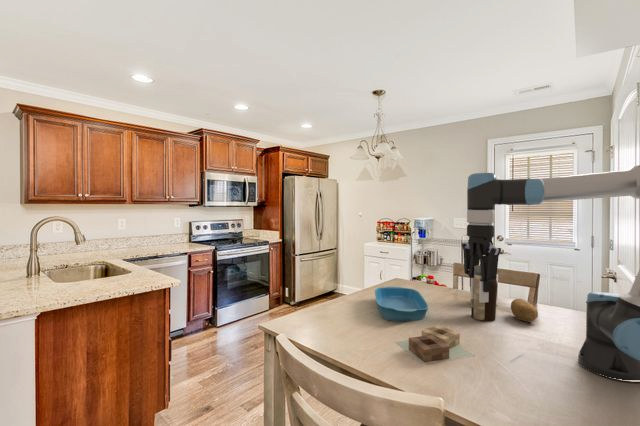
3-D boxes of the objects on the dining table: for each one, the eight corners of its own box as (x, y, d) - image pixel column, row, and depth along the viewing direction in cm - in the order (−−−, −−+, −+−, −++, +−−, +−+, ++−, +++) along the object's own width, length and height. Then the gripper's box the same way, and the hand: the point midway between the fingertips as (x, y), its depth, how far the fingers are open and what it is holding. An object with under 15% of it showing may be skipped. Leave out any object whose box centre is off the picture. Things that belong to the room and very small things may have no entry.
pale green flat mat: (475, 359, 101) (475, 355, 101) (421, 367, 96) (421, 364, 96) (443, 338, 116) (443, 335, 116) (395, 345, 111) (395, 341, 111)
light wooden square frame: (459, 344, 109) (459, 332, 109) (444, 351, 104) (444, 339, 104) (436, 335, 117) (436, 324, 116) (421, 341, 111) (421, 330, 111)
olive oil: (495, 315, 141) (496, 260, 140) (498, 323, 131) (499, 264, 130) (469, 312, 145) (470, 258, 144) (470, 320, 135) (470, 262, 135)
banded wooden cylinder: (487, 319, 95) (487, 267, 95) (478, 320, 94) (479, 267, 94) (479, 315, 98) (480, 265, 98) (471, 316, 97) (471, 265, 97)
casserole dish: (433, 327, 128) (433, 310, 128) (378, 325, 130) (378, 308, 130) (416, 300, 164) (416, 286, 164) (373, 298, 167) (373, 285, 167)
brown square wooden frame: (449, 358, 99) (449, 346, 99) (424, 362, 97) (424, 349, 96) (431, 346, 108) (432, 334, 107) (408, 349, 105) (408, 337, 105)
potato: (518, 325, 130) (518, 306, 129) (505, 313, 143) (505, 296, 143) (544, 327, 128) (545, 307, 127) (529, 315, 141) (529, 297, 141)
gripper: (512, 225, 89) (511, 307, 89) (471, 222, 104) (470, 292, 105) (491, 226, 87) (489, 309, 87) (452, 222, 102) (451, 294, 103)
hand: (479, 300), depth 96 cm, fingers closed on banded wooden cylinder, 3 cm apart
